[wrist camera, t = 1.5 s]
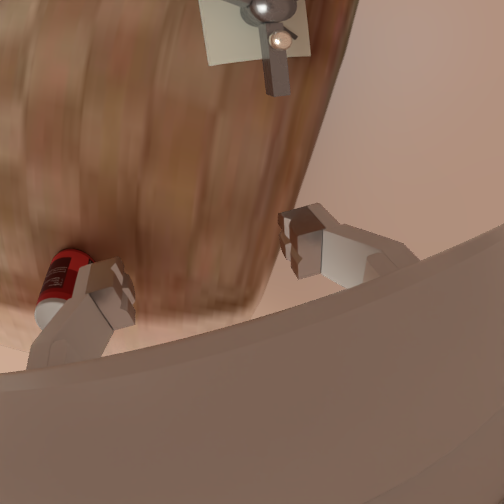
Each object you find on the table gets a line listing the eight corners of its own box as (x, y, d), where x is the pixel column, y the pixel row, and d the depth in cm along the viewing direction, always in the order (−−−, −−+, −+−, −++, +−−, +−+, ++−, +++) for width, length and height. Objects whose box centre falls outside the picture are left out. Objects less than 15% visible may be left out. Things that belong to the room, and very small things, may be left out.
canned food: (94, 292, 42) (87, 348, 34) (49, 279, 38) (33, 333, 30) (104, 256, 39) (96, 312, 31) (55, 240, 35) (34, 294, 27)
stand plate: (195, -24, 21) (196, -28, 20) (295, -27, 23) (301, -30, 21) (208, 66, 29) (210, 65, 27) (305, 56, 30) (311, 56, 29)
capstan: (167, -22, 19) (169, -41, 14) (325, -27, 22) (357, -37, 17) (188, 104, 29) (194, 114, 24) (336, 85, 32) (368, 93, 27)
